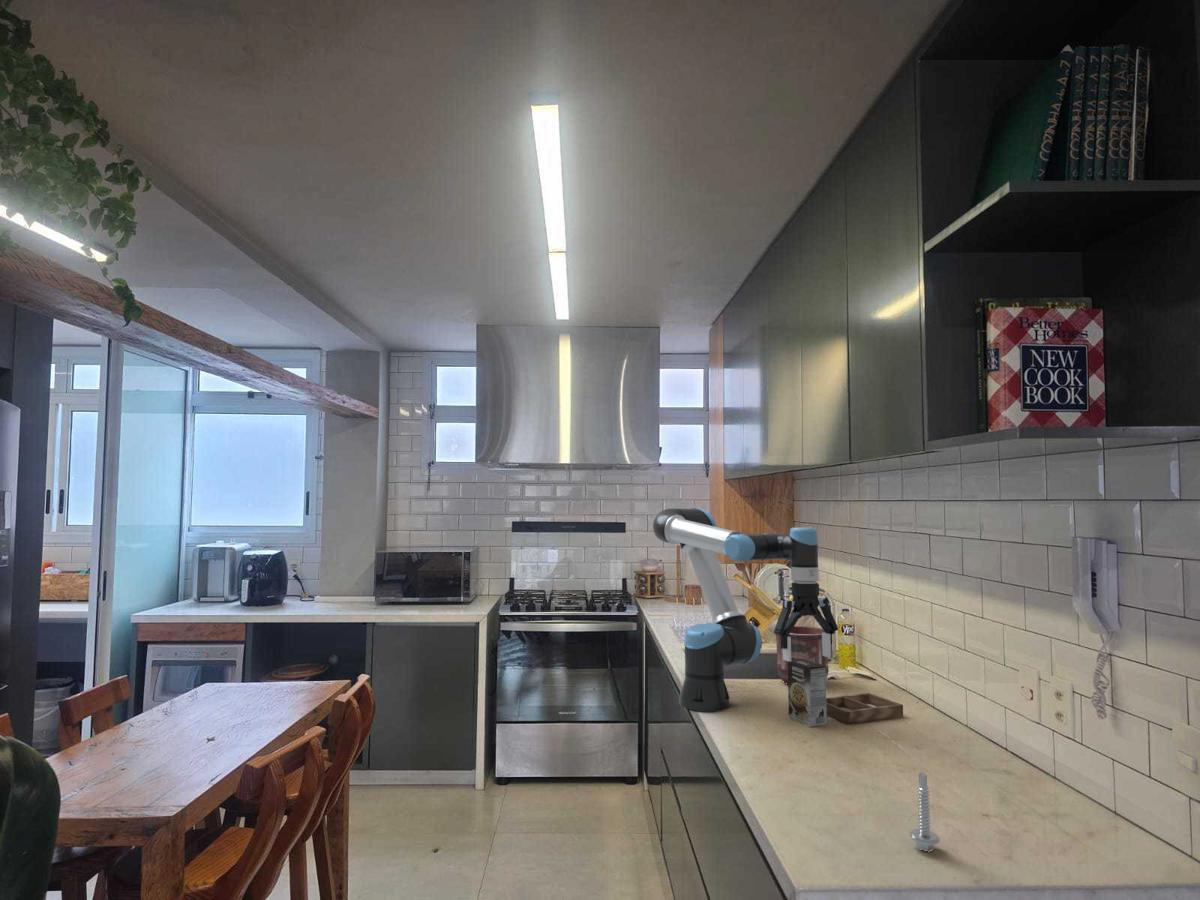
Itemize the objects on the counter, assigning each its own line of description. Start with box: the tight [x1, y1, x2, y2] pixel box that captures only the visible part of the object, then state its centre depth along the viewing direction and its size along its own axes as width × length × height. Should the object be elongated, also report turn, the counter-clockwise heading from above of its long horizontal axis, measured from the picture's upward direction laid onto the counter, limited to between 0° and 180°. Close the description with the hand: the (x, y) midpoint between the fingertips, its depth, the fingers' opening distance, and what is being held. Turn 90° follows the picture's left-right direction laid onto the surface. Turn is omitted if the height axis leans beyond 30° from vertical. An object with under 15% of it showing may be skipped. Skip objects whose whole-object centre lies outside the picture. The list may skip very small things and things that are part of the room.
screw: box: [909, 771, 941, 851], centre depth 120 cm, size 13×5×5 cm
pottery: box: [775, 625, 829, 684], centre depth 232 cm, size 18×18×18 cm
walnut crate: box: [826, 692, 904, 726], centre depth 198 cm, size 20×14×4 cm
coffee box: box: [787, 659, 828, 728], centre depth 192 cm, size 9×6×16 cm
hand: (807, 658), depth 192 cm, fingers open, 13 cm apart
